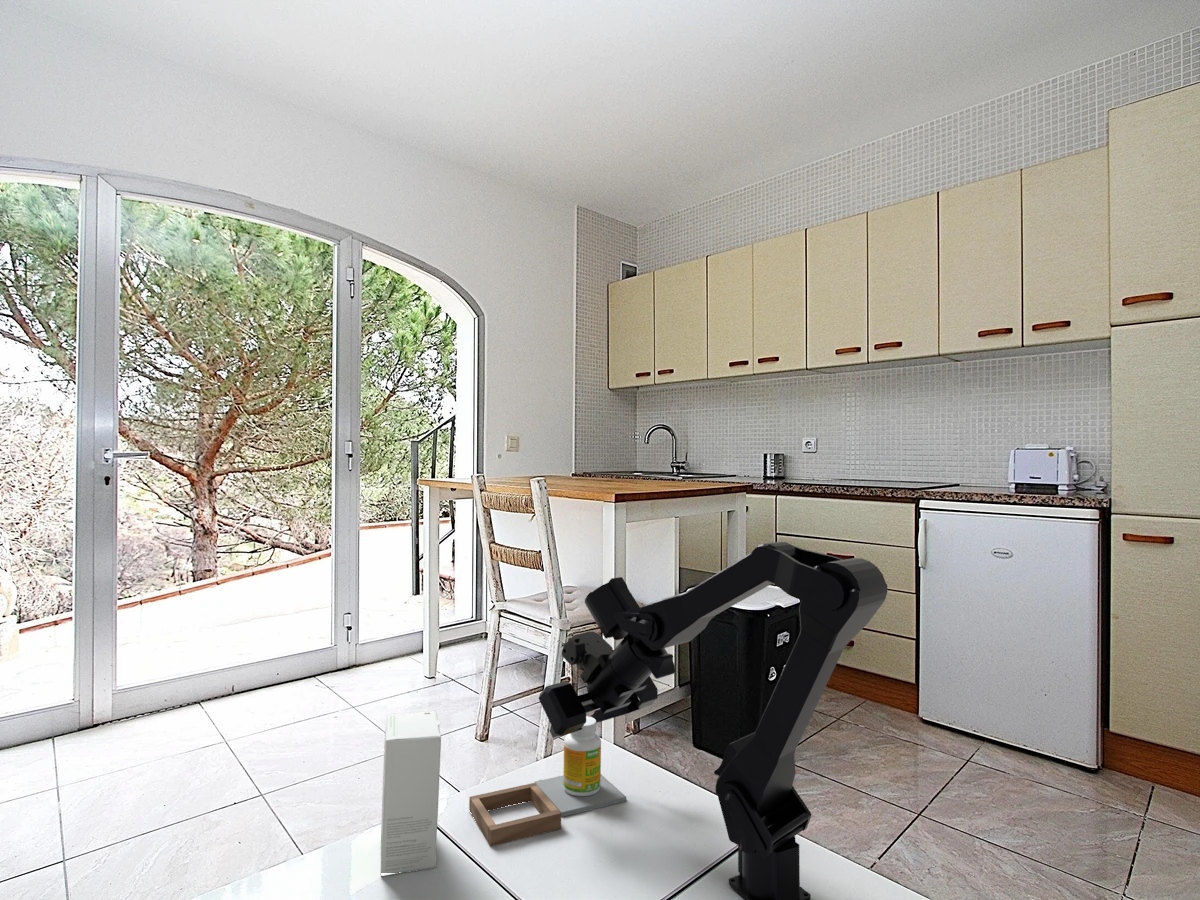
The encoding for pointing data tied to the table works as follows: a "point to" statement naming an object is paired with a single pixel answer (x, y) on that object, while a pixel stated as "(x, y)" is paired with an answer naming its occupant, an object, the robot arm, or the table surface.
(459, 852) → the table surface
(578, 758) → the supplement bottle
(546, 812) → the walnut collar
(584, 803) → the slate pad
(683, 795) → the table surface
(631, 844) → the table surface
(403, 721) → the skincare box
